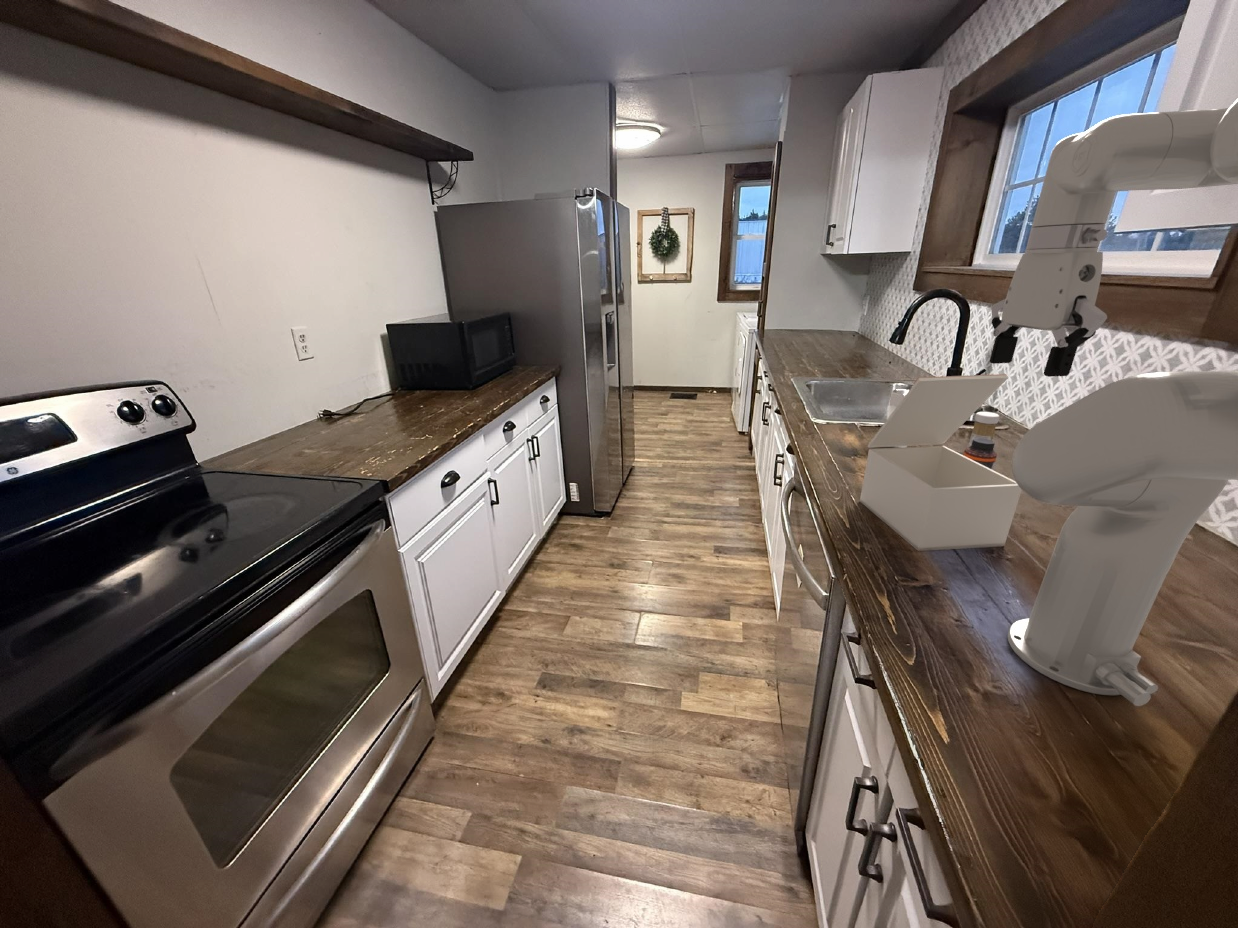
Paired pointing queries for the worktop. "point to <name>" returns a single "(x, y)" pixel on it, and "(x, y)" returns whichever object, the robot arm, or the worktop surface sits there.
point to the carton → (939, 497)
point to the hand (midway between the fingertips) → (1026, 369)
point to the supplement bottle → (982, 452)
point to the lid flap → (935, 409)
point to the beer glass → (896, 403)
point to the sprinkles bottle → (984, 425)
